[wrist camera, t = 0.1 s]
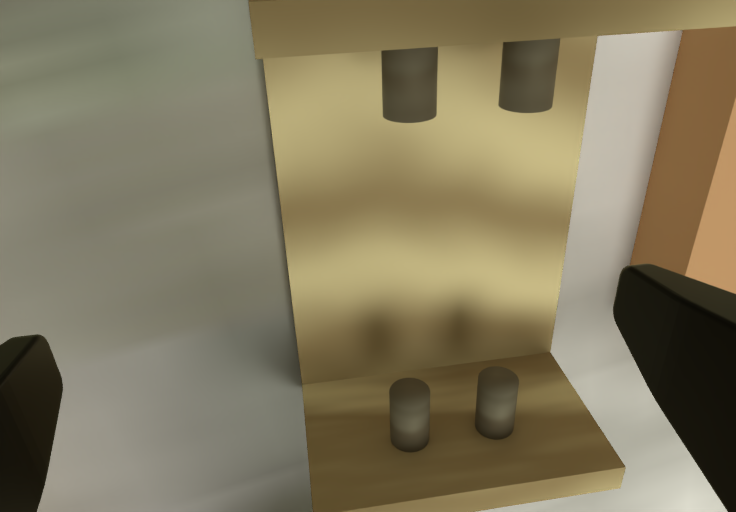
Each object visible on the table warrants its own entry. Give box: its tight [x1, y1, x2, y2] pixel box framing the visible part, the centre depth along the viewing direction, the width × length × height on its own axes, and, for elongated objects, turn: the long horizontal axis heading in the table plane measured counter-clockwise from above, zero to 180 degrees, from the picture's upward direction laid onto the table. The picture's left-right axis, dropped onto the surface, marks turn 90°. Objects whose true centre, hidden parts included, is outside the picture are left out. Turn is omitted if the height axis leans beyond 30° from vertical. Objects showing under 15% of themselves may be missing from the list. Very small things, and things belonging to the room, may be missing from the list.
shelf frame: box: [249, 0, 736, 512], centre depth 22 cm, size 18×12×8 cm, turn 2°
